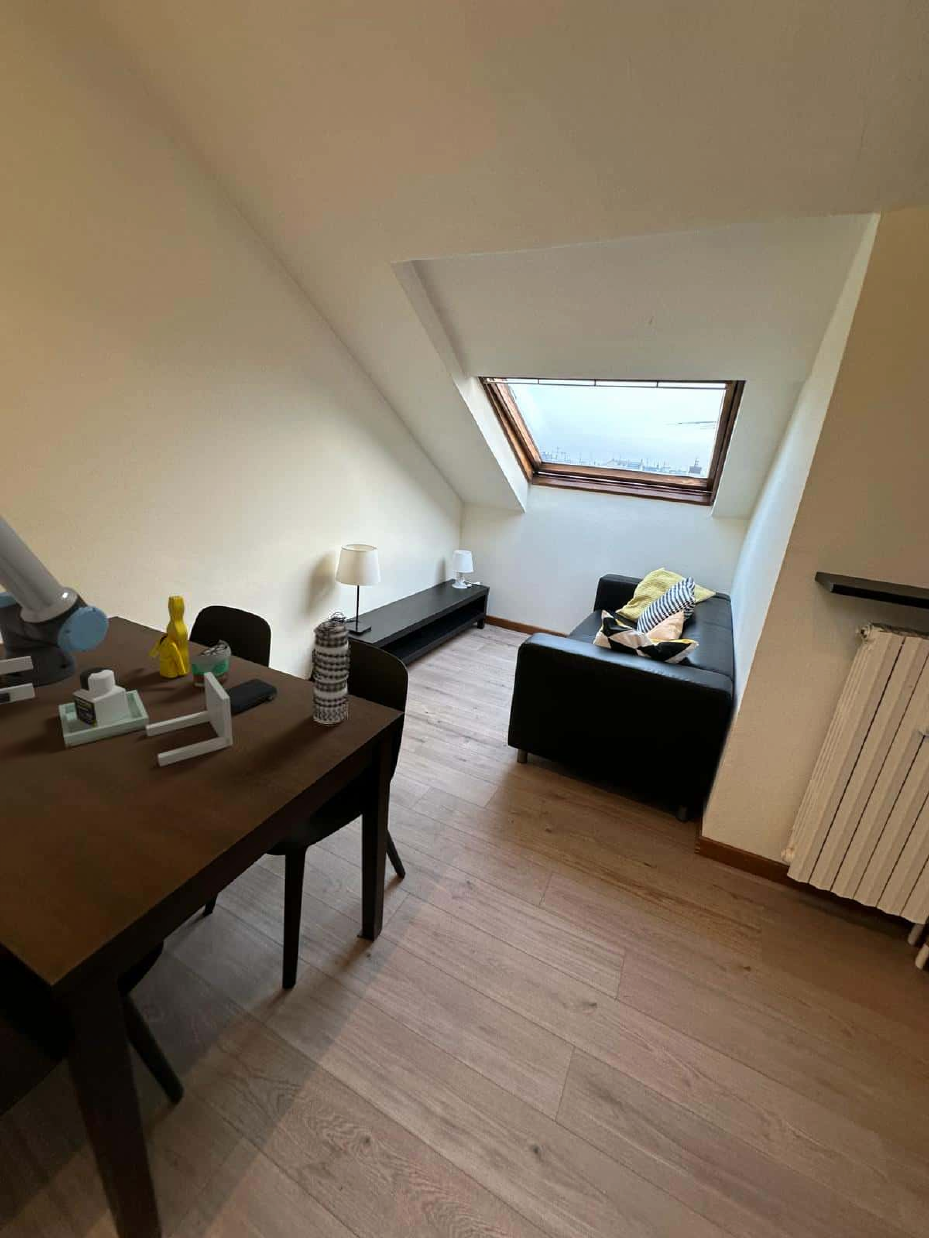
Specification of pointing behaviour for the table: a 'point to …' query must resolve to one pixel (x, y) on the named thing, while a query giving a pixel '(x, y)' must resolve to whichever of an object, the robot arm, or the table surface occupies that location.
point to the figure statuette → (173, 642)
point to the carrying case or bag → (249, 694)
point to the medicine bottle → (100, 698)
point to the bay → (215, 714)
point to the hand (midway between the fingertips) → (32, 675)
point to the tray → (84, 733)
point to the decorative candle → (330, 672)
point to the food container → (211, 664)
